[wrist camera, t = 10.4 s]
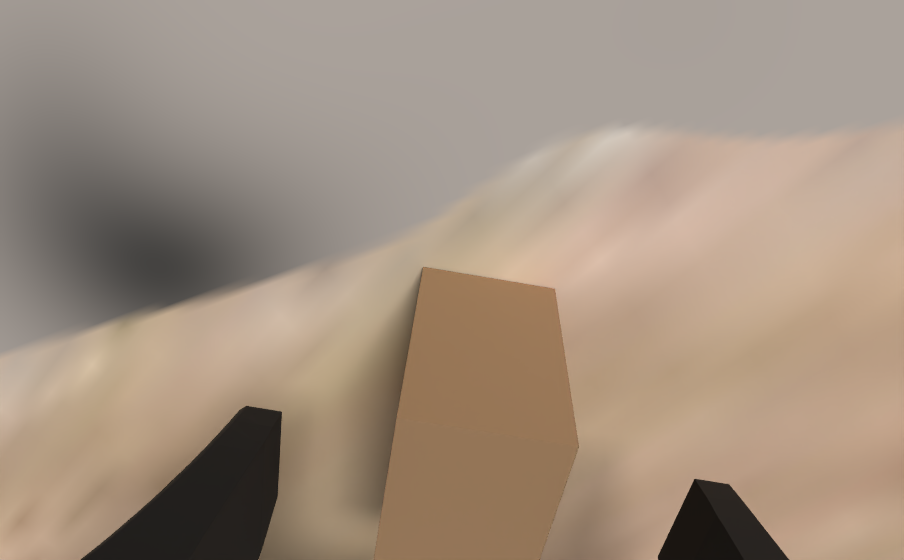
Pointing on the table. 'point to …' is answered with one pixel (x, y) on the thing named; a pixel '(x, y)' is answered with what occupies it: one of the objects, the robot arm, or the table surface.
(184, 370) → the table surface
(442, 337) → the brown tall block
